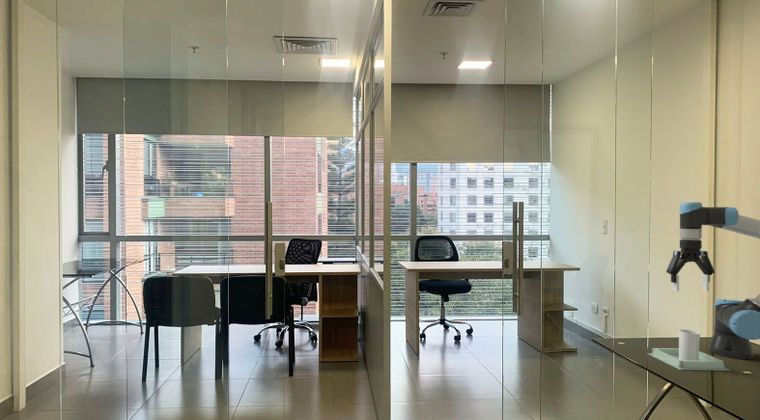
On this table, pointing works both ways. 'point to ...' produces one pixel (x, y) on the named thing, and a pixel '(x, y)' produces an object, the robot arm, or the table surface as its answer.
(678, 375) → the table surface
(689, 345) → the mug
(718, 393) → the table surface
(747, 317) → the robot arm
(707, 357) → the tray
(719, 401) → the table surface
